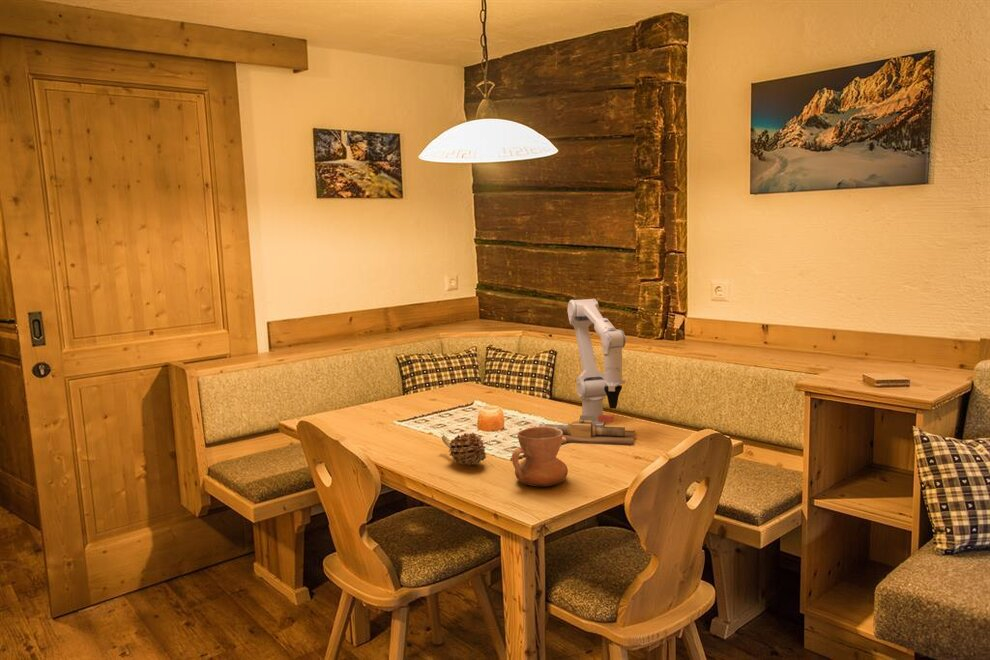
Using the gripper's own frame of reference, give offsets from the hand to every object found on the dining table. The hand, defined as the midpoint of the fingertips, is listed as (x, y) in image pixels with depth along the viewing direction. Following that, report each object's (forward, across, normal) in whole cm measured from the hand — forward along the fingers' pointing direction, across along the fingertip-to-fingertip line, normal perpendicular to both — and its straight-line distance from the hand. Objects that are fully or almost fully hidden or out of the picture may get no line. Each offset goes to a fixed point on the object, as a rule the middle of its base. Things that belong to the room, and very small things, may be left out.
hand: (613, 407), depth 244 cm
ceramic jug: (+10, -47, +17) cm, 51 cm away
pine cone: (+10, -34, +43) cm, 56 cm away
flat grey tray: (+9, -3, +10) cm, 14 cm away
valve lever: (+4, -3, +5) cm, 7 cm away
